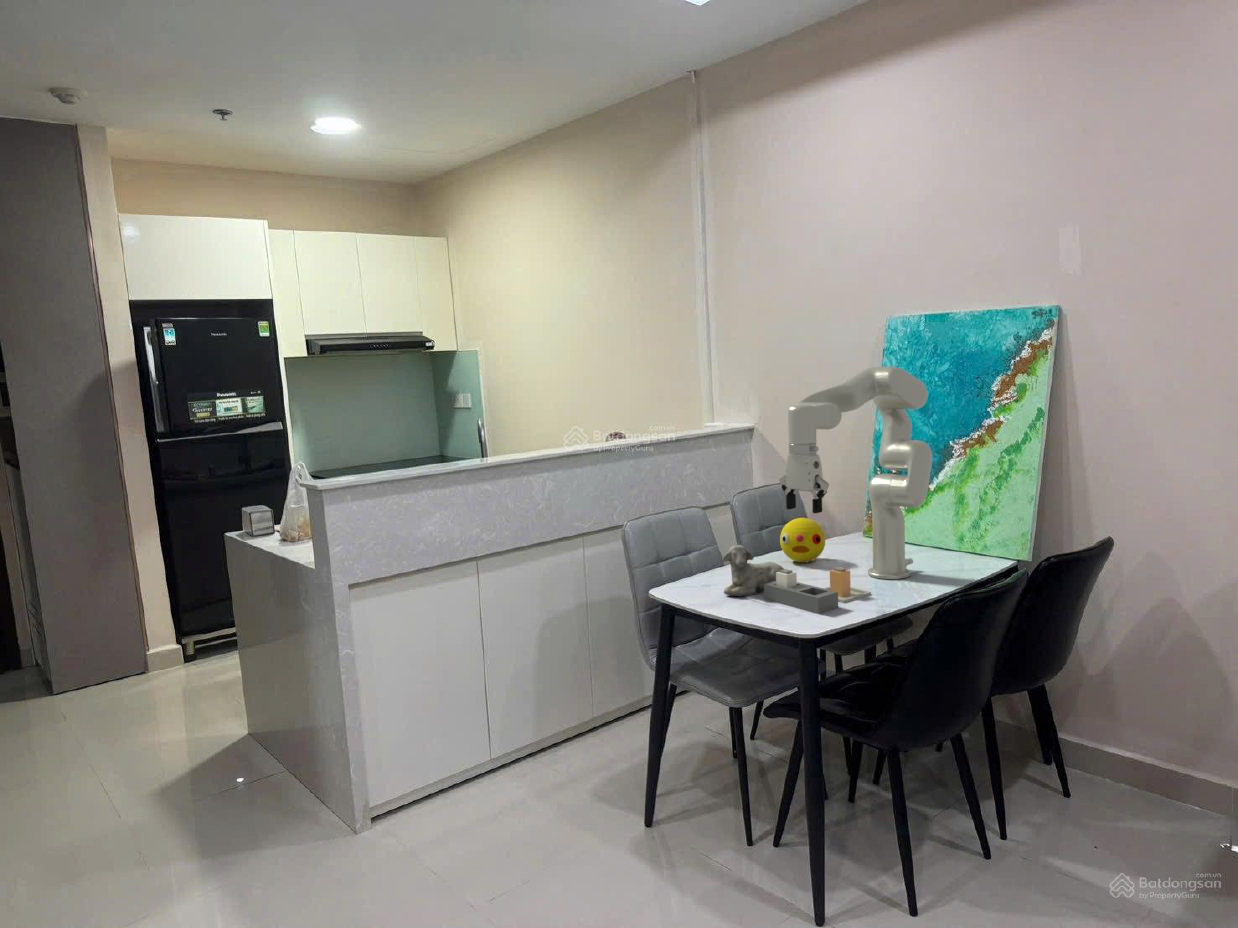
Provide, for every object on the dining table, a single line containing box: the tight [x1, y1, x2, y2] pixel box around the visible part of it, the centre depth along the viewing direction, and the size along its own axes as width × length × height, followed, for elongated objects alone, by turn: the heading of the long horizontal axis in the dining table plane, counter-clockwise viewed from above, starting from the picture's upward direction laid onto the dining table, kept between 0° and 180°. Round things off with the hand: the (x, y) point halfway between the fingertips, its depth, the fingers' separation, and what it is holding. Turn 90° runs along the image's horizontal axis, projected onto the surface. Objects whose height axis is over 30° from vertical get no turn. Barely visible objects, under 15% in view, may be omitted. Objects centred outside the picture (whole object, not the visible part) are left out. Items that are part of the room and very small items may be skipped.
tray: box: [822, 585, 872, 604], centre depth 235 cm, size 12×12×1 cm
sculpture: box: [721, 544, 785, 597], centre depth 243 cm, size 11×21×15 cm, turn 122°
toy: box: [779, 517, 826, 563], centre depth 275 cm, size 15×16×15 cm
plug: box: [829, 566, 851, 597], centre depth 234 cm, size 4×4×8 cm
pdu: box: [763, 568, 839, 615], centre depth 228 cm, size 8×20×9 cm, turn 35°
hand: (804, 510), depth 228 cm, fingers open, 9 cm apart
